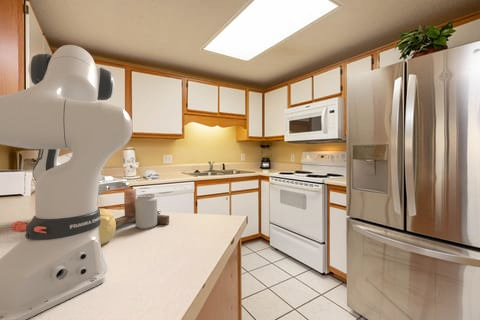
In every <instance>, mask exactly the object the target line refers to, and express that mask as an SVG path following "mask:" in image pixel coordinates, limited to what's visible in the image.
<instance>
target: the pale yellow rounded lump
mask: <svg viewBox="0 0 480 320" xmlns="http://www.w3.org/2000/svg"><path fill="white" fill-rule="evenodd" d="M99 209H100V218H101V219H100V225H99V236H100V244H101V246H102V245H105V244H106V243H108V242H109V241H110V240H112V238H113V237H114V235H115V233H116V231H117V230H116V221H115V219H116V218H115V216H114V214H113V212H110V211H108V210H107V209H106V208H99ZM115 230H116V231H115Z"/></svg>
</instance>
